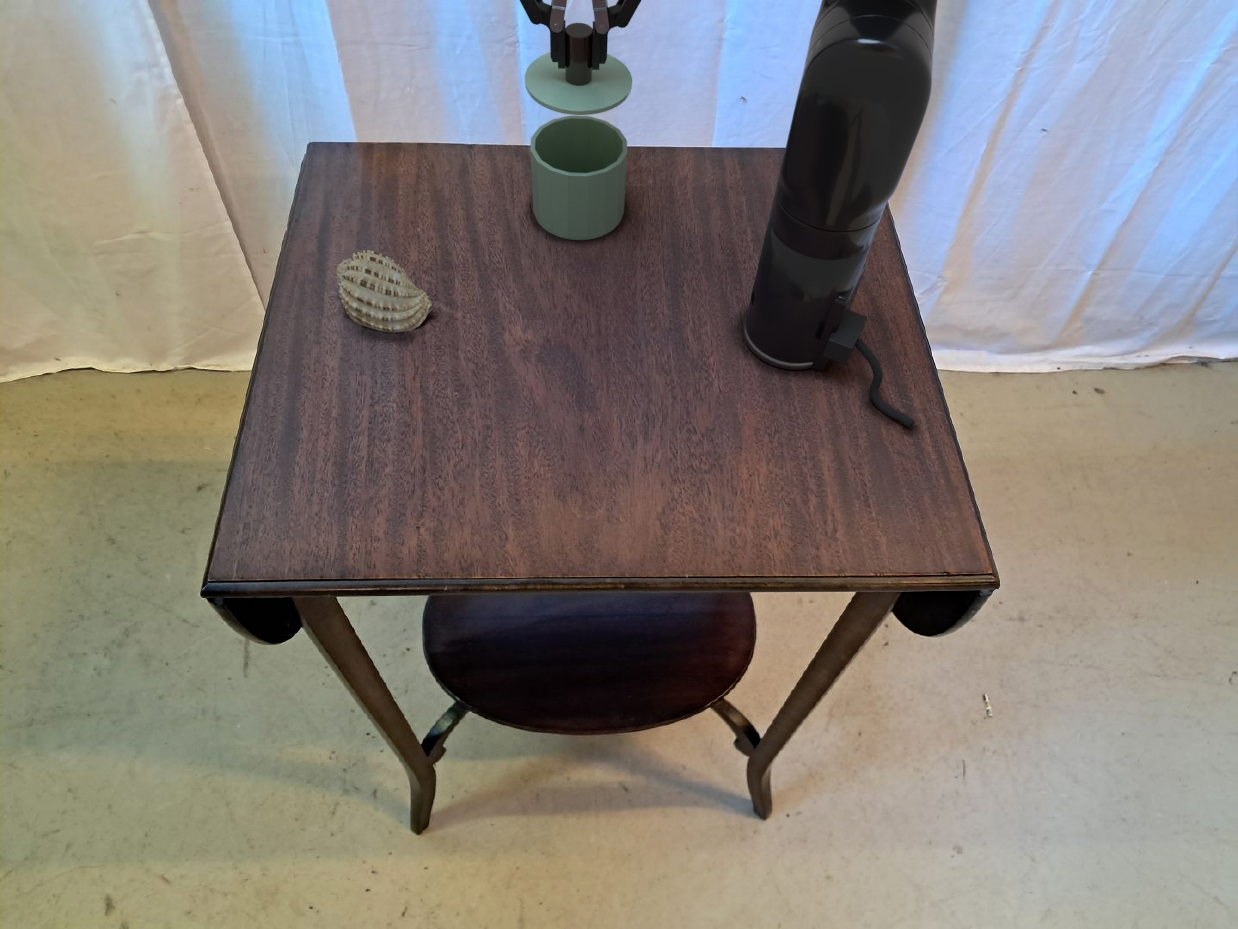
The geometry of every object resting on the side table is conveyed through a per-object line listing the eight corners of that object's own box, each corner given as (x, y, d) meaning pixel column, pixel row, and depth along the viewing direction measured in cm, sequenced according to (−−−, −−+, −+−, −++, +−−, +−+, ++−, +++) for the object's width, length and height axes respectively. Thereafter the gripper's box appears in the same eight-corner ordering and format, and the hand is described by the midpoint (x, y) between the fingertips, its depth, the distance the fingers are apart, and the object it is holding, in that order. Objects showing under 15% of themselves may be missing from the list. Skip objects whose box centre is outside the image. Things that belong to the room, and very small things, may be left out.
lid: (630, 59, 89) (633, 1, 84) (633, 122, 83) (637, 63, 78) (527, 56, 89) (524, -3, 84) (522, 119, 83) (519, 60, 78)
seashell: (431, 304, 93) (338, 262, 90) (449, 268, 88) (352, 223, 85) (411, 358, 89) (313, 317, 85) (429, 324, 84) (326, 279, 81)
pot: (622, 181, 101) (626, 116, 94) (624, 241, 96) (628, 176, 89) (535, 179, 101) (532, 114, 94) (531, 239, 95) (528, 174, 88)
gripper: (488, -123, 67) (503, 85, 81) (671, -116, 68) (653, 90, 82) (494, -165, 71) (507, 40, 86) (666, -158, 72) (650, 45, 86)
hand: (579, 63), depth 84 cm, fingers closed on lid, 2 cm apart
